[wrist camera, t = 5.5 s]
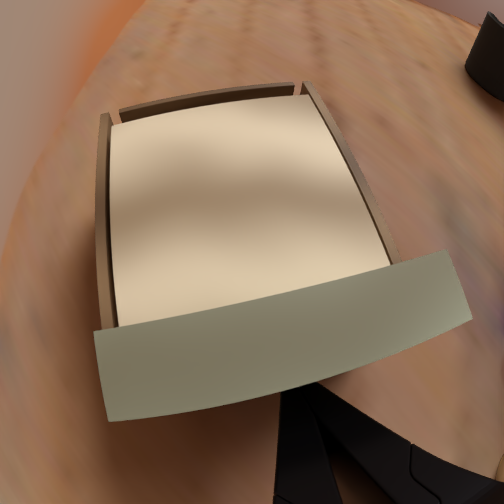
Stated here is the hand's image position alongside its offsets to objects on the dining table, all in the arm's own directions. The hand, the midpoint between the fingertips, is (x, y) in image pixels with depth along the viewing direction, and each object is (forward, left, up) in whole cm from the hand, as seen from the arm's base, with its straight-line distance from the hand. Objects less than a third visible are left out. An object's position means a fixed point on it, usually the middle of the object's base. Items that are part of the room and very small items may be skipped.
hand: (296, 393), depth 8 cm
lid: (+6, 0, -2) cm, 7 cm away
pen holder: (+26, -40, -9) cm, 48 cm away
